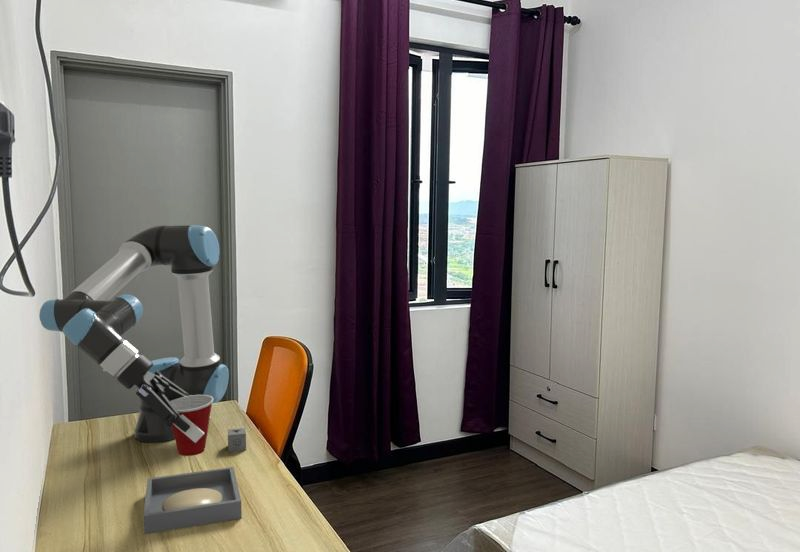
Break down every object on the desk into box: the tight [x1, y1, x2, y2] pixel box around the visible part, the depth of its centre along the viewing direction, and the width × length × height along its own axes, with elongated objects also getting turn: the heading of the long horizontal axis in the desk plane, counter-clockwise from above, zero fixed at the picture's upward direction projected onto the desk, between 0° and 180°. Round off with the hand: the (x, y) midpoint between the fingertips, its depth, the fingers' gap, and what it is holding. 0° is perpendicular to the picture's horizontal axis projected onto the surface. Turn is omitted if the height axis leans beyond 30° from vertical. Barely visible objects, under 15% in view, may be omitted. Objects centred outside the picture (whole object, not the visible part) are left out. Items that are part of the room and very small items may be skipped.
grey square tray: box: [142, 466, 243, 535], centre depth 141 cm, size 20×20×4 cm
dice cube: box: [227, 427, 247, 453], centre depth 177 cm, size 5×5×5 cm
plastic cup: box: [170, 395, 214, 457], centre depth 139 cm, size 11×11×12 cm
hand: (203, 429), depth 140 cm, fingers closed on plastic cup, 10 cm apart
